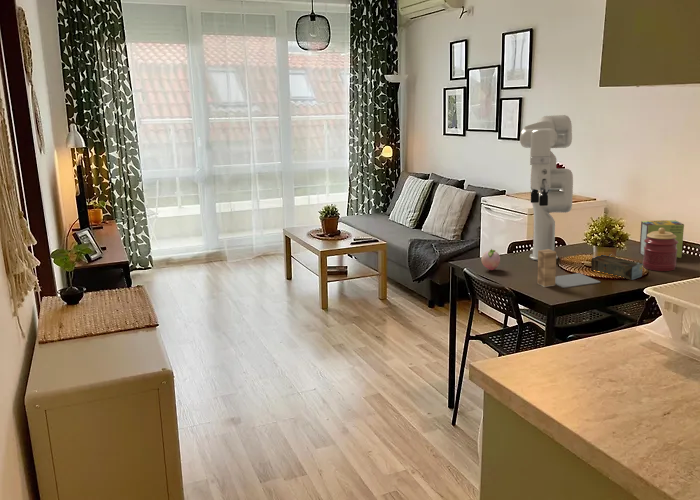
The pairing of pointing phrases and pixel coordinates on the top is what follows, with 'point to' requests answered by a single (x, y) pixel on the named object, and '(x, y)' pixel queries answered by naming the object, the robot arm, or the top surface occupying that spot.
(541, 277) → the oak pillar
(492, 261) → the decorative fruit
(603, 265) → the beverage carton
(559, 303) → the top surface
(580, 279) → the rubber mat
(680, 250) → the protein box
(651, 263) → the canister
